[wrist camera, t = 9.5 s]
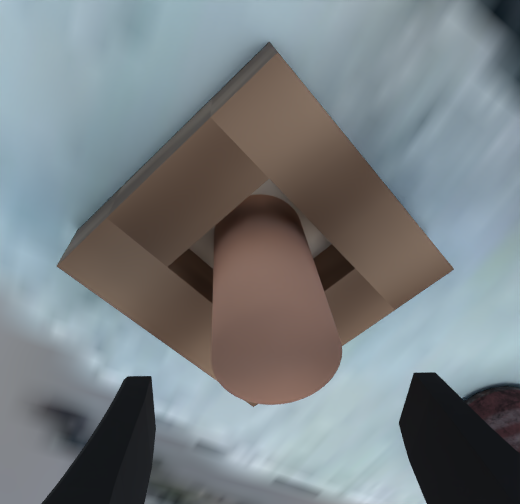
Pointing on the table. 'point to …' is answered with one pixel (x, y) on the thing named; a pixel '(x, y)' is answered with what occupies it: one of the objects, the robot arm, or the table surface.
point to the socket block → (234, 193)
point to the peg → (269, 307)
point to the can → (500, 411)
